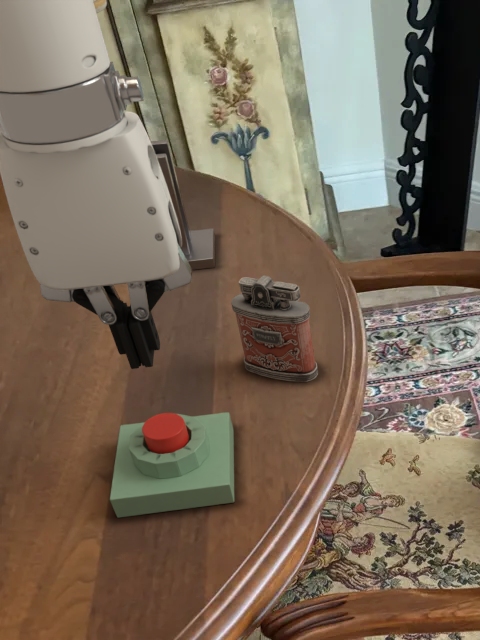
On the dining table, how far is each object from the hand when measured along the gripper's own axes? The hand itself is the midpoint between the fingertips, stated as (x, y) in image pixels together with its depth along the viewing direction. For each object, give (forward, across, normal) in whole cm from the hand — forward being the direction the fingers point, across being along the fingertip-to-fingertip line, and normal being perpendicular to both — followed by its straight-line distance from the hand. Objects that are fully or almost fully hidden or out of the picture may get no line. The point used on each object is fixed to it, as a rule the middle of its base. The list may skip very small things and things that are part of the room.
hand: (143, 357), depth 62 cm
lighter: (+12, -10, -14) cm, 21 cm away
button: (+9, 0, 0) cm, 9 cm away
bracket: (+12, +2, -41) cm, 43 cm away
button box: (+12, 0, 0) cm, 12 cm away
